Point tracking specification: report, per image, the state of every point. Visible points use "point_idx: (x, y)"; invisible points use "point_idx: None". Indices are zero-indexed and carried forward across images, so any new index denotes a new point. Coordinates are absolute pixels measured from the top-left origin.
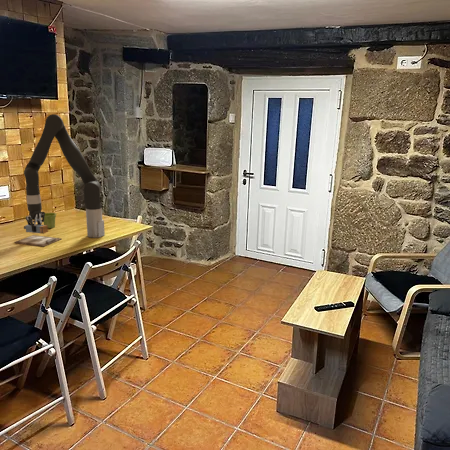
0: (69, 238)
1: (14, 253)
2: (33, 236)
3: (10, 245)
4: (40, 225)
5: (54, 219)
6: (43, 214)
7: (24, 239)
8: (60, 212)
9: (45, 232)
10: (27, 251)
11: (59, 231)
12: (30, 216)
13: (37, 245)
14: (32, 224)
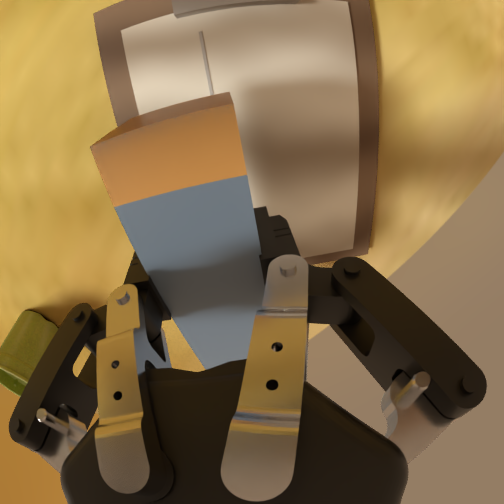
0: (49, 4)
1: (500, 101)
2: None
3: (409, 229)
4: (177, 237)
5: (3, 344)
6: (35, 411)
7: (303, 244)
8: None
9: (184, 102)
10: (468, 46)
11: (12, 234)
12: (411, 431)
13: (372, 39)
14: (359, 270)
